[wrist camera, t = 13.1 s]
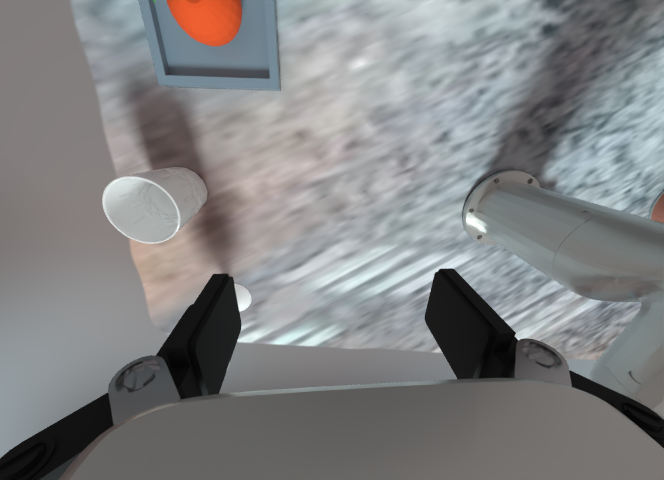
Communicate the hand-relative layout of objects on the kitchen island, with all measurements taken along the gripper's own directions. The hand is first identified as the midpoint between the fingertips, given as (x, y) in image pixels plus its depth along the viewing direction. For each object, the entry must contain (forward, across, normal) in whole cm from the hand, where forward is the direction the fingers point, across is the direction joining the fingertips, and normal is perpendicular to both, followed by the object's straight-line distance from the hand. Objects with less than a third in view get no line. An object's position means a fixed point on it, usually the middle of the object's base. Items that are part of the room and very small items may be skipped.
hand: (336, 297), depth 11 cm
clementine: (+28, +12, -18) cm, 35 cm away
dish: (+28, +12, -18) cm, 36 cm away
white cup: (+28, +20, +2) cm, 35 cm away
